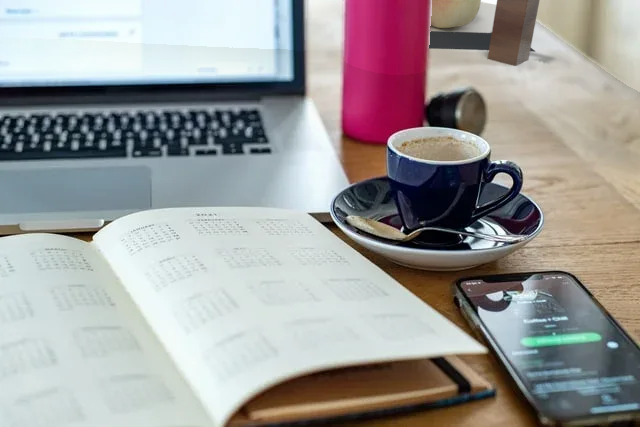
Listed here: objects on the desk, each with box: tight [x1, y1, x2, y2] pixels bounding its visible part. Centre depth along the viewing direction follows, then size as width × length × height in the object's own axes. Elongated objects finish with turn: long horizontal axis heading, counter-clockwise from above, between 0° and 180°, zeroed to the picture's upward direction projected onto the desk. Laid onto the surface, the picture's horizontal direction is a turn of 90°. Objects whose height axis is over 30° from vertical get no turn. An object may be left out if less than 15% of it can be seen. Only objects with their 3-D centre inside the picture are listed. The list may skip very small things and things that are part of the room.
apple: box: [430, 0, 482, 29], centre depth 132 cm, size 9×9×8 cm
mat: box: [428, 30, 536, 53], centre depth 125 cm, size 16×9×1 cm, turn 99°
